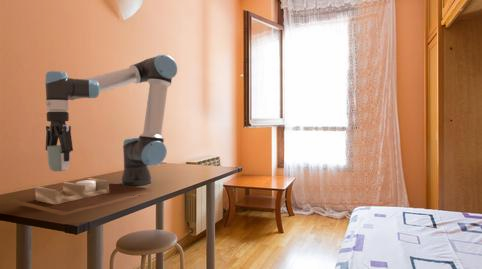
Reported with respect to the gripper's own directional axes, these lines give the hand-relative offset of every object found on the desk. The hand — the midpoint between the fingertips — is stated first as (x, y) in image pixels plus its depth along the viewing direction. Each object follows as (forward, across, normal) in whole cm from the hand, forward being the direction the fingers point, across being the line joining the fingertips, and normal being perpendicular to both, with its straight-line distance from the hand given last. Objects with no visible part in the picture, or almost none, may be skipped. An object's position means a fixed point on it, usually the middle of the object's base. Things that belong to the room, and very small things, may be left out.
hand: (59, 168), depth 126 cm
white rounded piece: (+12, 0, +11) cm, 16 cm away
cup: (+1, 0, 0) cm, 1 cm away
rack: (+13, 0, +6) cm, 14 cm away
